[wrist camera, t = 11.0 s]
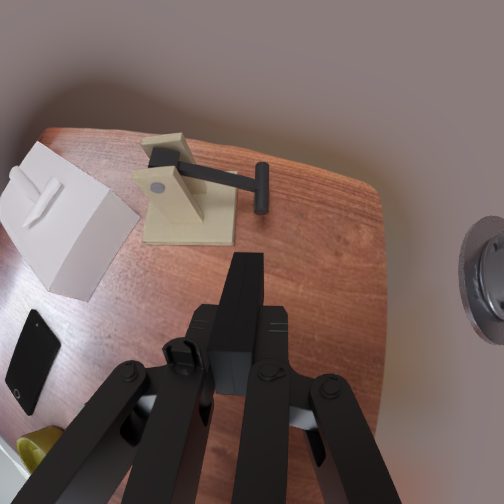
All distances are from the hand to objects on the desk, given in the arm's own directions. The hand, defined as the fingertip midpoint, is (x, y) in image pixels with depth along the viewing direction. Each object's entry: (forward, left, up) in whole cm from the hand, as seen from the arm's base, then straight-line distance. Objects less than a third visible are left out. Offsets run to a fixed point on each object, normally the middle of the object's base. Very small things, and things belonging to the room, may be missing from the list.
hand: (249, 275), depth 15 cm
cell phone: (+38, +14, -18) cm, 44 cm away
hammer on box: (+32, -11, -18) cm, 39 cm away
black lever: (+6, -12, -11) cm, 17 cm away
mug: (+30, +29, -18) cm, 45 cm away
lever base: (+10, -12, -18) cm, 24 cm away
